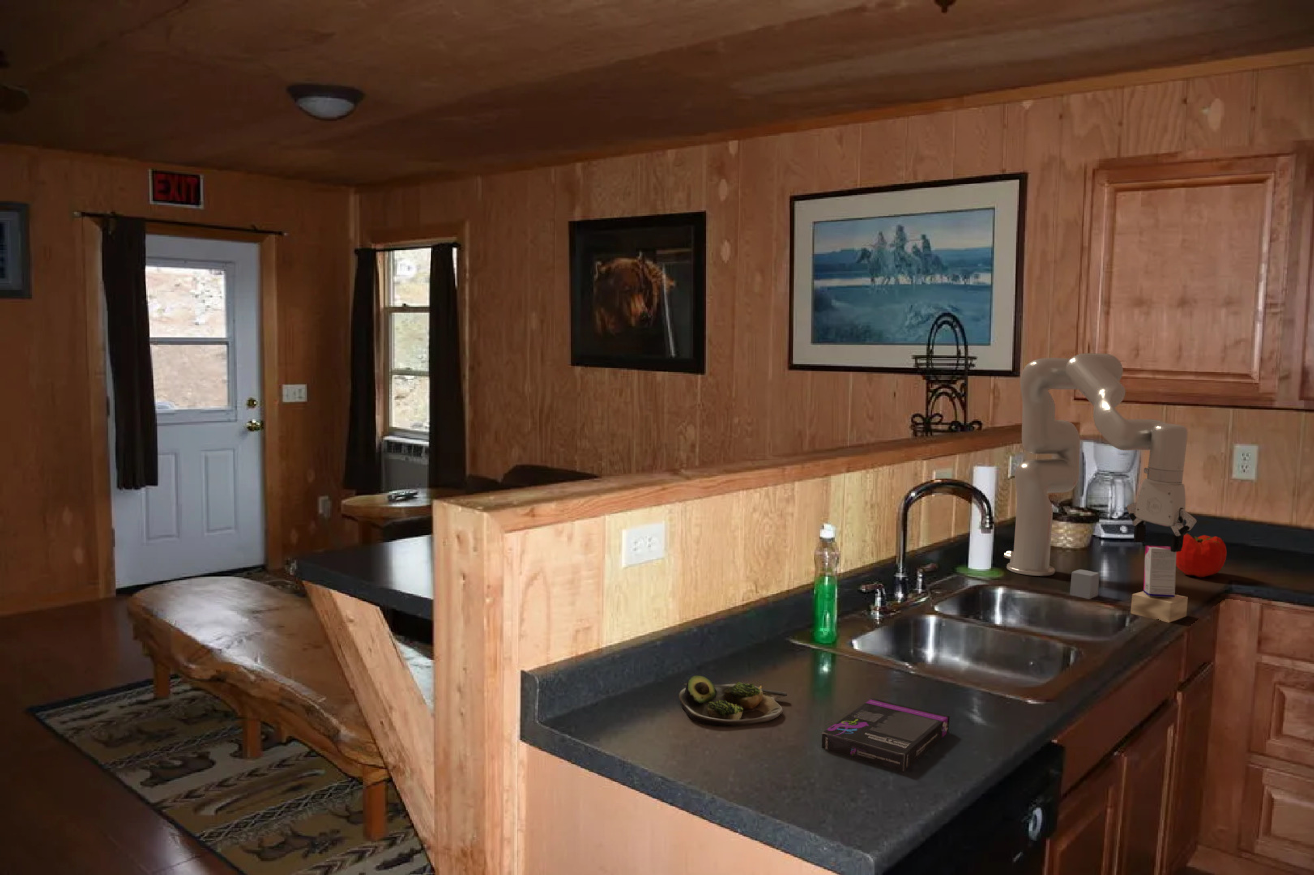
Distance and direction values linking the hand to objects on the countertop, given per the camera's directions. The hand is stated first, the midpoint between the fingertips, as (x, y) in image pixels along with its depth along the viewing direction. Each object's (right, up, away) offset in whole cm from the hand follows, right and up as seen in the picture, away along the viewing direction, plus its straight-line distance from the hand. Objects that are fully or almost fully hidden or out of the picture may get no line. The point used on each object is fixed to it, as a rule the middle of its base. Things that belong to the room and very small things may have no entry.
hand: (1157, 546), depth 238 cm
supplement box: (+1, -12, 0) cm, 12 cm away
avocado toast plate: (-108, -21, -65) cm, 127 cm away
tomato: (+33, -13, +43) cm, 55 cm away
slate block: (-10, -14, +17) cm, 25 cm away
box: (-82, -24, -77) cm, 115 cm away
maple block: (+1, -17, +1) cm, 17 cm away
